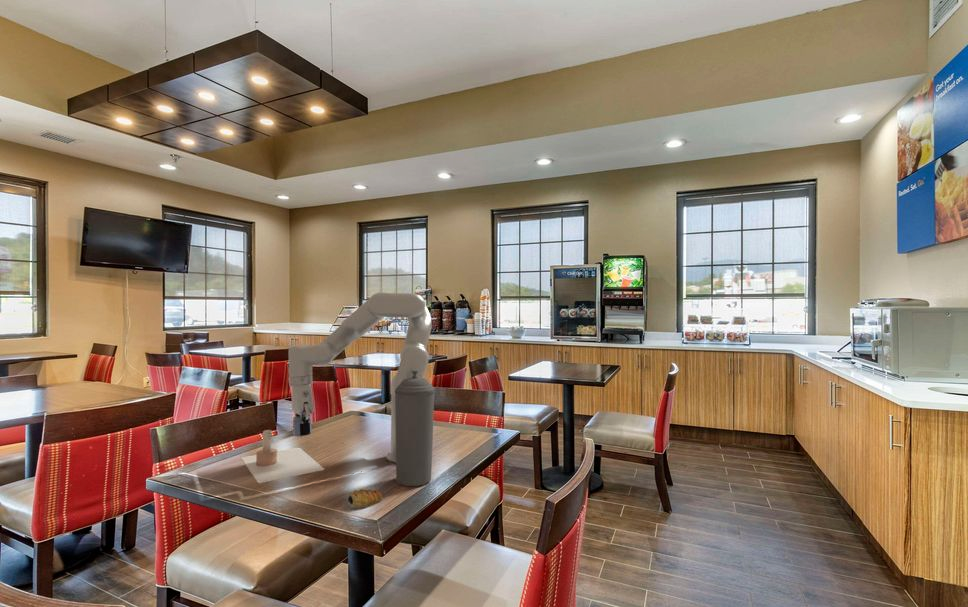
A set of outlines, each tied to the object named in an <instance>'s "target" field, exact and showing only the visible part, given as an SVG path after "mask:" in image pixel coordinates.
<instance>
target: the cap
mask: <svg viewBox="0 0 968 607" xmlns="http://www.w3.org/2000/svg"><path fill="white" fill-rule="evenodd" d="M304 417H305V416H303V418H304ZM300 424H301V420H300V415H299V416H295V415H294V417H293V420H292V434H293V436H294V437H305V436H309V435H311V434H312V432H313V431H312V430H313V428H312V417H311V415H310V434H308V435H303V436H301V435H300Z"/></svg>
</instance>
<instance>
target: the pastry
mask: <svg viewBox="0 0 968 607" xmlns="http://www.w3.org/2000/svg"><path fill="white" fill-rule="evenodd" d="M382 500H383V495H382V492H381V491H379V490H377V489H373V490H372V489H363V488H361V489H359V490H353V491H352V492H351V491H350V492H349V493H348V494H347V497H346V502H347V505H348V506H349V507H351V508H352V509H354V510H359V509H363V508H368V507H371V506H374V505H377V504H379V503H380V502H381V501H382Z"/></svg>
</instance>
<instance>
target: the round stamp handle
mask: <svg viewBox="0 0 968 607" xmlns="http://www.w3.org/2000/svg"><path fill="white" fill-rule="evenodd" d="M277 451H278V450H277V449H276V448H272V429H265V430H263V432H262V449H261V450H257V452H256V453H255V455H256V465H257V466H270V465H274V464H276V463H277Z"/></svg>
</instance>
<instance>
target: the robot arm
mask: <svg viewBox="0 0 968 607" xmlns="http://www.w3.org/2000/svg"><path fill="white" fill-rule="evenodd" d="M384 318H407V320H408V324H407V325H408V327H407V329H406V330H407V331H406V336H405V338H404V342H403V346H402V348H401V351H400V355H399V358H400V362H399V364H398V365H399V366H398V369H397V373H396V374H395V375H394V376H393V377H392V380H391V382H390V383H391V384H390V391H391V395H390V396H391V399H390V400H391V403H390V404H391V410H390V411H391V412H390V414H391V415H390V417H391V419H390V451H389V452H388V453H387V454H386V455H385V456H386V458H385V459H386V460H388V461H389V462H391V463H395V464H396V425H395V390H396V388H397V387H398V385H399V384H400V383H401V382H402V381H403V380H404V379H406V378H412V376H413V373H412V372H411V370H419V372H417V377H419V378H425V376H426V372H427V369H428V365H429V357H430V356H429V353H428V350H427V348H428V344H429V340H430V335H431V332H432V324H433V323H432V316H431V313H430V311H429V308H428V307H427V305H426V301H425V299H424V298H423V297H422V296H421V294H418V293H412V292H411V293H409V292H407V293H399V292H398V293H397V292H396V293H395V292H376V293H374V294H372V295H371V297H370V298H368V299H367V300H366V301H365V302H364V303H362V304H361V305H360V306H359V307H358V308H356V309H355V310H354V311H353V312H352V313H351V314H350V315H348V316H347V317H346V318H345V319H344V320H343V321H342V323H341V324H340V325H339V326H338V327H337V328H336V329H335V330H334V331H333V332H332V333H330V334H329V335H328V336H327V337H326V338H324V339H323V340H322V342H320V343H318V344H314V345H309V344H295V345H292V346H290V347H289V348H288V379H289V380H288V384H289V385H288V386H289V387H291V409H292V412H293V413H294V417H295V416H299V415H300V420H301V424H300V435H301V436H300V437H304V436H303V435H306V436H309V435H311V434H310V416H311V414H314V410H315V408H314V407H315V406H314V397H313V396H314V394H313V389H312V387H313V386H312V385H313V384H314V382H313V366H321V367H322V366H323V367H324V366H327V365H329V364H330V363H332V362H333V360H334V359H335V358H336V357H337V356H338V355H340V354H341V353H342V352H343V351H344V350H345V349H347V347H349V346H350V345H351V344H353V343H354V342H356V341H357V340H359V339H360V338H361V337H363V336H364V335H365V334H366V333H368V332H369V331H370V330H371V329H372V328H373V327H374V326H376V325H377V324H378V323H379V322H381V320H383V319H384ZM303 416H305V417H304V418H303ZM308 434H309V435H308Z"/></svg>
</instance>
